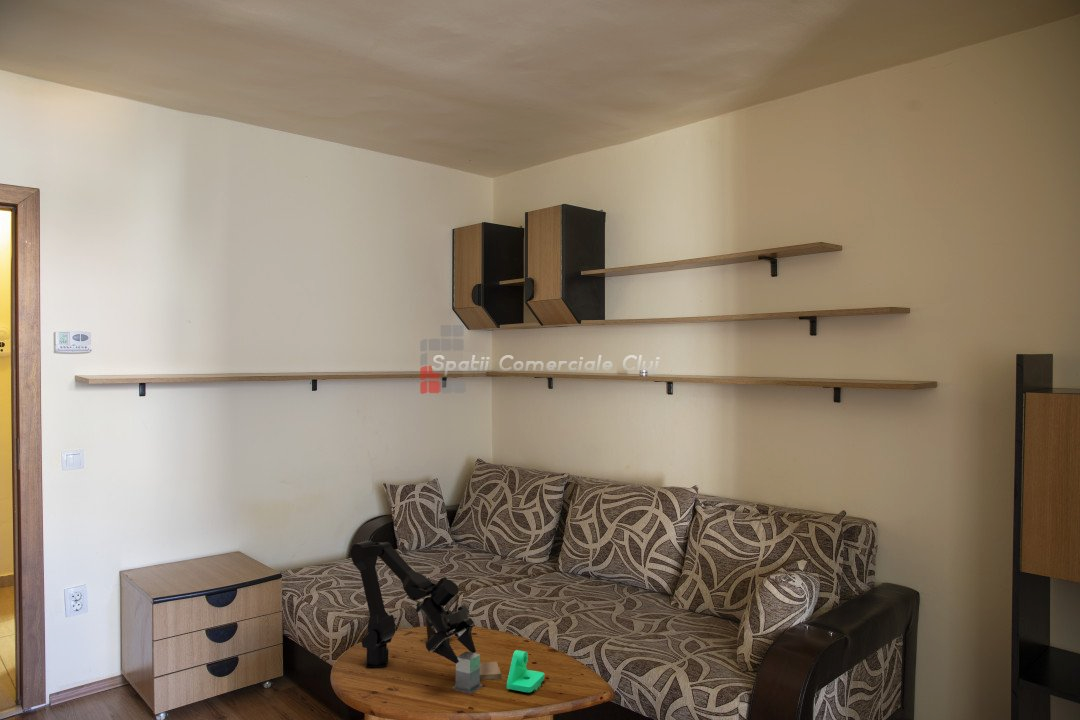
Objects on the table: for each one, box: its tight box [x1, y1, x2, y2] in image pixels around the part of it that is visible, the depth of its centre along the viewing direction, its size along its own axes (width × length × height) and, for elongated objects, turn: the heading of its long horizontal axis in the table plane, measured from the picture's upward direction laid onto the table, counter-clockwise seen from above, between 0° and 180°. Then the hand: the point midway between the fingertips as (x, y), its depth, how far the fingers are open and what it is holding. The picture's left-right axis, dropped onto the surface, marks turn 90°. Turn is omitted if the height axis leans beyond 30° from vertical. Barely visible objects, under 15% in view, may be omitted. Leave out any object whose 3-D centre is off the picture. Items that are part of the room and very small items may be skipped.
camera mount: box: [506, 649, 545, 693], centre depth 221 cm, size 12×8×10 cm, turn 158°
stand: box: [480, 661, 502, 681], centre depth 230 cm, size 10×10×2 cm
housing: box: [451, 651, 484, 695], centre depth 219 cm, size 6×6×10 cm
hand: (466, 657), depth 219 cm, fingers open, 9 cm apart
